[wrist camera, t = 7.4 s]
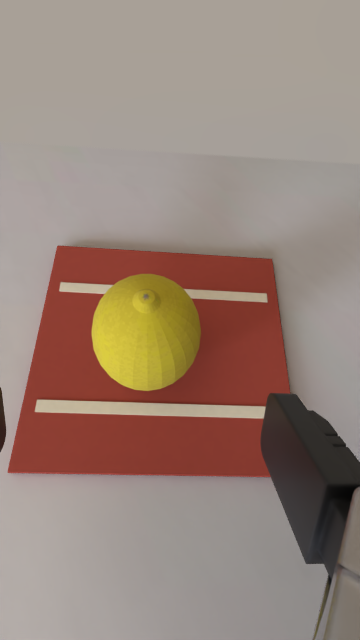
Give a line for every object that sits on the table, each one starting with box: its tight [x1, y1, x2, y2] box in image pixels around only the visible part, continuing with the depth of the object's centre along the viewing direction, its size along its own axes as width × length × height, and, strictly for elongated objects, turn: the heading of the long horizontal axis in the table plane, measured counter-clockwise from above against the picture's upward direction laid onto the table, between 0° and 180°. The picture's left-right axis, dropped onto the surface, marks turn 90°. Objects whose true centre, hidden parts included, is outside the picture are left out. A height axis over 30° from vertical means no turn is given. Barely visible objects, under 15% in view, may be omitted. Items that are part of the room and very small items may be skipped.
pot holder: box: [8, 246, 290, 477], centre depth 22 cm, size 16×15×1 cm
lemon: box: [92, 274, 201, 391], centre depth 17 cm, size 6×6×8 cm
